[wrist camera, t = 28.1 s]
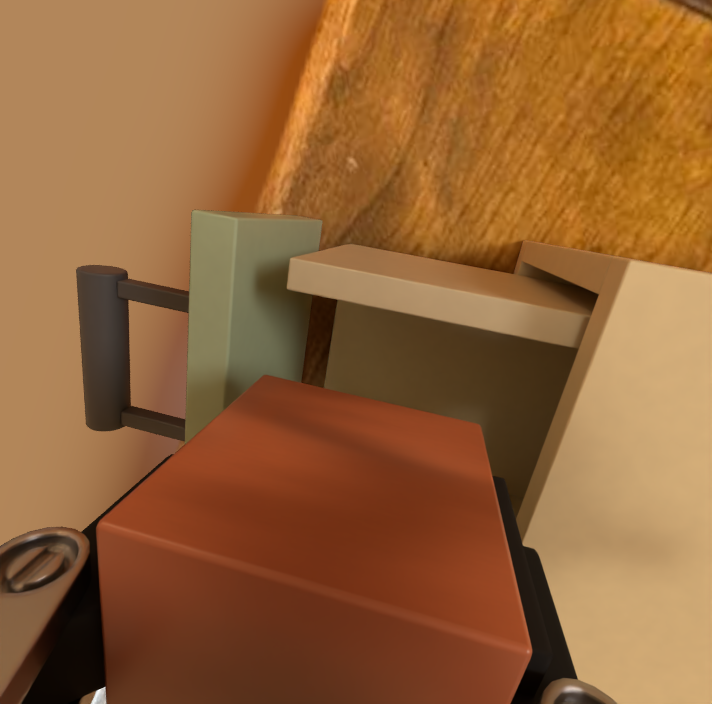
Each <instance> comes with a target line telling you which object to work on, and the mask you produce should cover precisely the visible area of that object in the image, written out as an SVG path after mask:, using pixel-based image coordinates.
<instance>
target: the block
mask: <svg viewBox="0 0 712 704" xmlns="http://www.w3.org/2000/svg"><path fill="white" fill-rule="evenodd" d="M96 537H97V553H98V570H99V587H100V603H101V620H102V636H103V653H104V669H105V686H106V702H107V704H510V703H511V701H512V699H513V697H514V694H515V692H516V690H517V688H518V685H519V683H520V681H521V679H522V677H523V674H524V672H525V670H526V668H527V665H528V663H529V661H530V659H531V656H532V646H531V642H530V637H529V633H528V629H527V624H526V620H525V616H524V611H523V607H522V603H521V598H520V594H519V590H518V585H517V581H516V577H515V572H514V568H513V564H512V559H511V555H510V551H509V546H508V542H507V538H506V533H505V529H504V525H503V520H502V516H501V512H500V507H499V503H498V499H497V494H496V490H495V486H494V481H493V477H492V473H491V468H490V464H489V460H488V455H487V451H486V447H485V442H484V438H483V434H482V429H481V426H480V425H479V424H476V423H472V422H468V421H463V420H459V419H455V418H451V417H446V416H442V415H438V414H433V413H429V412H425V411H420V410H416V409H412V408H408V407H403V406H399V405H395V404H390V403H386V402H382V401H377V400H373V399H369V398H364V397H360V396H356V395H352V394H347V393H343V392H339V391H334V390H330V389H326V388H321V387H317V386H313V385H309V384H304V383H300V382H296V381H291V380H287V379H283V378H278V377H274V376H270V375H263V376H262V377H260V378H259V379H258V380H257V381H256V382H255V383H254V384H253V385H251V386H250V387H249V388H248V389H247V390H246V391H245V392H244V393H242V394H241V395H240V396H239V397H238V398H237V399H236V400H235V401H233V402H232V403H231V404H230V405H229V406H228V407H227V408H226V409H224V410H223V411H222V412H221V413H220V414H219V415H218V416H217V417H215V418H214V419H213V420H212V421H211V422H210V423H209V424H208V425H206V426H205V427H204V428H203V429H202V430H201V431H200V432H199V433H197V434H196V435H195V436H194V437H193V438H192V439H191V440H190V441H188V442H187V443H186V444H185V445H184V446H183V447H182V448H181V449H179V450H178V451H177V452H176V453H175V454H174V455H173V456H172V457H170V458H169V459H168V460H167V461H166V462H165V463H164V464H163V465H161V466H160V467H159V468H158V469H157V470H156V471H155V472H154V473H152V474H151V475H150V476H149V477H148V478H147V479H146V480H145V481H143V482H142V483H141V484H140V485H139V486H138V487H137V488H136V489H134V490H133V491H132V492H131V493H130V494H129V495H128V496H127V497H125V498H124V499H123V500H122V501H121V502H120V503H119V504H118V505H116V506H115V507H114V508H113V509H112V510H111V511H110V512H109V513H107V514H106V515H105V516H104V517H103V518H102V519H101V520H100V521H99V523H98V524H97V527H96Z"/></svg>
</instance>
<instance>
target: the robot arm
mask: <svg viewBox="0 0 712 704" xmlns="http://www.w3.org/2000/svg"><path fill="white" fill-rule="evenodd" d="M189 441H190V440H189ZM180 449H181V448H180ZM173 455H174V454H171V455H170V456H168V457H167V458H165V459H164V460H163V461H162V462H161V463H160V464H158V465H157V466H156V467H155V468H154V469H153V470H152V471H151V472H149V473H148V474H147V475H146V476H145V477H144V478H143V479H141V480H140V481H139V482H138V483H137V484H136V485H135V486H133V487H132V488H131V489H130V490H129V491H128V492H127V493H125V494H124V495H123V496H122V497H121V498H120V499H119V500H117V501H116V502H115V503H114V504H113V505H112V506H111V507H110V508H108V509H107V510H106V511H105V512H104V513H103V514H101V516H99V517H98V518H97V519H96V520H95V521H93V522H92V523H91V524H90V525H89V526H88V527H87V528H85V529H84V530H83V531H82V532H79V531H78V530H76V529H72V528H66V527H47V528H43V529H38V530H34V531H30V532H27V533H25V534H23V535H20V536H18V537H16V538H13V539H11V540H10V541H8V542H6V543H4V544H3V545H1V546H0V704H91V702H92V700H93V698H94V695H95V692H96V691H97V690H99V689H101V688H103V687H105V669H104V653H103V636H102V620H101V603H100V587H99V570H98V553H97V537H96V527H97V524H98V523H99V521H100V520H101V519H102V518H103V517H104V516H105V515H106V514H107V513H109V512H110V511H111V510H112V509H113V508H114V507H115V506H116V505H118V504H119V503H120V502H121V501H122V500H123V499H124V498H125V497H127V496H128V495H129V494H130V493H131V492H132V491H133V490H134V489H136V488H137V487H138V486H139V485H140V484H141V483H142V482H143V481H145V480H146V479H147V478H148V477H149V476H150V475H151V474H152V473H154V472H155V471H156V470H157V469H158V468H159V467H160V466H161V465H163V464H164V463H165V462H166V461H167V460H168V459H169V458H170V457H172V456H173ZM492 477H493V481H494V486H495V490H496V494H497V499H498V503H499V507H500V512H501V516H502V520H503V525H504V529H505V533H506V538H507V542H508V546H509V551H510V555H511V559H512V564H513V568H514V572H515V577H516V581H517V585H518V590H519V594H520V598H521V603H522V607H523V611H524V616H525V620H526V624H527V629H528V633H529V637H530V642H531V646H532V656H531V659H530V661H529V663H528V665H527V668H526V670H525V672H524V674H523V677H522V679H521V681H520V683H519V685H518V688H517V690H516V692H515V694H514V697H513V699H512V701H511V703H510V704H617V703H616V702H615V701H614V700H613V699H612V698H611V697H609V696H608V695H606V694H605V693H604V692H602V691H601V690H599V689H598V688H596V687H595V686H592V685H590V684H587V683H585V682H583V681H580V680H578V678H577V675H576V671H575V668H574V665H573V662H572V659H571V656H570V652H569V649H568V646H567V643H566V640H565V636H564V633H563V630H562V627H561V624H560V621H559V617H558V614H557V611H556V608H555V605H554V601H553V598H552V595H551V592H550V589H549V586H548V582H547V579H546V576H545V573H544V570H543V566H542V563H541V560H540V557H539V555H538V553H537V551H536V550H535V549H533V548H530V547H526V546H523V544H522V540H521V536H520V533H519V529H518V526H517V522H516V518H515V515H514V511H513V507H512V504H511V500H510V496H509V493H508V489H507V485H506V482H505V479H503V478H500V477H496V476H492Z"/></svg>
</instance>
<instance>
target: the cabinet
mask: <svg viewBox="0 0 712 704" xmlns="http://www.w3.org/2000/svg"><path fill="white" fill-rule="evenodd" d="M514 274H515V275H521V276H526V277H532V278H537V279H542V280H548V281H553V282H558V283H564V284H569V285H574V286H580V287H583V288H585V289H587V290H590V291H592V292H594V293H596V294H599V296H598V299H597V301H596V304H595V307H594V309H593V312H592V315H591V318H590V320H589V323H588V326H587V328H586V331H585V334H584V337H583V339H582V342H581V345H580V347H579V350H578V353H577V356H576V358H575V361H574V364H573V366H572V369H571V372H570V374H569V377H568V380H567V383H566V385H565V388H564V391H563V393H562V396H561V399H560V402H559V404H558V407H557V410H556V412H555V415H554V418H553V421H552V423H551V426H550V429H549V431H548V434H547V437H546V440H545V442H544V445H543V448H542V450H541V453H540V456H539V458H538V461H537V464H536V467H535V469H534V472H533V475H532V477H531V480H530V483H529V486H528V488H527V491H526V494H525V496H524V499H523V502H522V505H521V507H520V510H519V513H518V515H517V518H516V522H517V526H518V529H519V533H520V536H521V540H522V544H523V546H526V547H530V548H533V549H535V550H536V551H537V553H538V555H539V557H540V560H541V563H542V566H543V570H544V573H545V576H546V579H547V582H548V586H549V589H550V592H551V595H552V598H553V601H554V605H555V608H556V611H557V614H558V617H559V621H560V624H561V627H562V630H563V633H564V636H565V640H566V643H567V646H568V649H569V652H570V656H571V659H572V662H573V665H574V668H575V671H576V675H577V678H578V680H580V681H583V682H585V683H587V684H590V685H592V686H595V687H596V688H598V689H599V690H601V691H602V692H604V693H605V694H606V695H608V696H609V697H611V698H612V699H613V700H614V701H615V702H616V703H617V704H712V273H709V272H703V271H697V270H692V269H686V268H680V267H675V266H669V265H663V264H658V263H652V262H646V261H641V260H635V259H629V258H624V257H618V256H612V255H606V254H601V253H595V252H589V251H584V250H578V249H572V248H567V247H561V246H555V245H550V244H544V243H538V242H533V241H527V240H524V241H523V243H522V247H521V250H520V253H519V257H518V260H517V264H516V267H515V271H514Z"/></svg>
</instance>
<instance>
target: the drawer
mask: <svg viewBox="0 0 712 704" xmlns="http://www.w3.org/2000/svg"><path fill="white" fill-rule="evenodd" d="M191 216H192V217H191V247H190V248H191V249H190V283H189V284H190V285H189V291H184V290H179V289H174V288H170V287H164V286H160V285H155V284H151V283H146V282H141V281H136V280H132V279H128V274H127V271H126V270H124V269H121V268H117V267H112V266H102V265H88V266H81V267H78V268H77V270H76V273H77V289H78V305H79V321H80V337H81V353H82V367H83V384H84V400H85V414H86V425H87V426H88V427H89V428H90V429H92V430H96V431H112V430H116V429H120V428H122V427H124V426H128V427H131V428H135V429H139V430H143V431H147V432H150V433H154V434H159V435H162V436H166V437H170V438H173V439H177V440H181V441H185V444H186V443H187V442H188V441H189V440H191V439H192V438H193V437H194V436H195V435H196V434H197V433H199V432H200V431H201V430H202V429H203V428H204V427H205V426H206V425H208V424H209V423H210V422H211V421H212V420H213V419H214V418H215V417H217V416H218V415H219V414H220V413H221V412H222V411H223V410H224V409H226V408H227V407H228V406H229V405H230V404H231V403H232V402H233V401H235V400H236V399H237V398H238V397H239V396H240V395H241V394H242V393H244V392H245V391H246V390H247V389H248V388H249V387H250V386H251V385H253V384H254V383H255V382H256V381H257V380H258V379H259V378H260V377H262V376H263V375H270V376H274V377H278V378H283V379H287V380H291V381H296V382H300V383H301V381H302V373H303V366H304V358H305V350H306V343H307V335H308V328H309V320H310V312H311V305H312V297H313V295H316V296H321V297H326V298H331V299H336V300H337V305H336V311H335V318H334V324H333V331H332V337H331V344H330V350H329V357H328V364H327V370H326V377H325V383H324V388H326V389H330V390H334V391H339V392H343V393H347V394H352V395H356V396H360V397H364V398H369V399H373V400H377V401H382V402H386V403H390V404H395V405H399V406H403V407H408V408H412V409H416V410H420V411H425V412H429V413H433V414H438V415H442V416H446V417H451V418H455V419H459V420H463V421H468V422H472V423H476V424H479V425H480V426H481V429H482V434H483V438H484V442H485V447H486V451H487V455H488V460H489V464H490V468H491V473H492V476H496V477H500V478H503V479H505V482H506V485H507V489H508V493H509V496H510V500H511V504H512V507H513V511H514V515H515V518H517V515H518V513H519V510H520V507H521V505H522V502H523V499H524V496H525V494H526V491H527V488H528V486H529V483H530V480H531V477H532V475H533V472H534V469H535V467H536V464H537V461H538V458H539V456H540V453H541V450H542V448H543V445H544V442H545V440H546V437H547V434H548V431H549V429H550V426H551V423H552V421H553V418H554V415H555V412H556V410H557V407H558V404H559V402H560V399H561V396H562V393H563V391H564V388H565V385H566V383H567V380H568V377H569V374H570V372H571V369H572V366H573V364H574V361H575V358H576V356H577V353H578V350H579V347H580V345H581V342H582V339H583V337H584V334H585V331H586V328H587V326H588V323H589V320H590V318H591V315H592V312H593V309H594V307H595V304H596V301H597V299H598V296H599V294H596V293H594V292H592V291H590V290H587V289H585V288H583V287H580V286H574V285H569V284H564V283H558V282H553V281H548V280H542V279H537V278H532V277H526V276H521V275H515V274H510V273H505V272H499V271H494V270H489V269H483V268H478V267H473V266H467V265H462V264H456V263H451V262H446V261H440V260H435V259H430V258H424V257H419V256H414V255H408V254H403V253H397V252H392V251H387V250H381V249H376V248H371V247H365V246H360V245H355V244H348V245H342V246H338V247H334V248H330V249H326V250H322V251H319V244H320V236H321V229H322V220H319V219H313V218H308V217H302V216H296V215H279V214H262V213H244V212H226V211H209V210H193V211H192V214H191ZM128 300H132V301H137V302H141V303H146V304H150V305H155V306H159V307H164V308H169V309H173V310H178V311H182V312H187V313H189V319H188V352H187V387H186V390H187V391H186V420H185V419H181V418H177V417H173V416H169V415H165V414H162V413H158V412H154V411H149V410H146V409H142V408H138V407H134V406H131V402H130V359H129V358H130V357H129V356H130V355H129V312H128V311H129V310H128Z"/></svg>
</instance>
